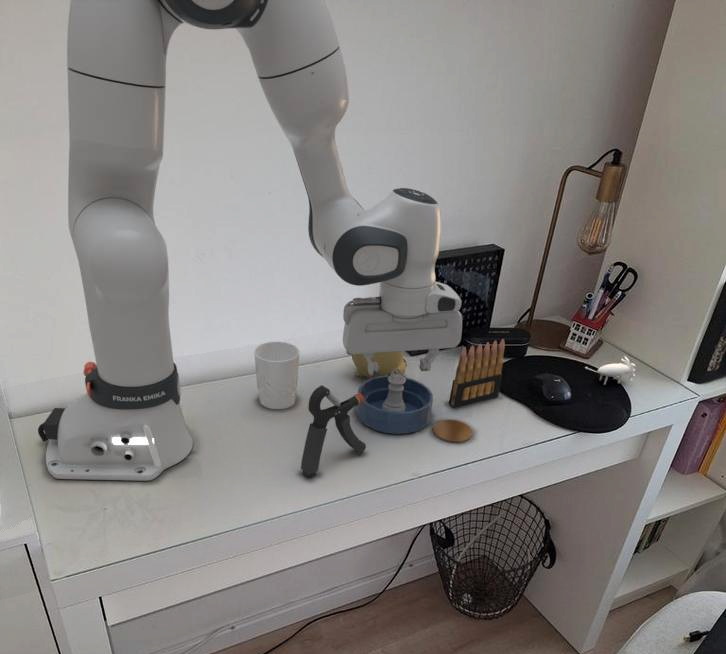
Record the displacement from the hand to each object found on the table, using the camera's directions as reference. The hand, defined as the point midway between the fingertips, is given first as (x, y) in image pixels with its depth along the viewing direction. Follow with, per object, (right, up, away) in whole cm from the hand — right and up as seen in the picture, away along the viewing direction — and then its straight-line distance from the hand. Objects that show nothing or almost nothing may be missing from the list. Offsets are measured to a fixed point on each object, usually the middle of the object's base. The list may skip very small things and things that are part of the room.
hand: (399, 371), depth 120 cm
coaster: (+10, -10, +2) cm, 14 cm away
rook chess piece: (-1, -7, +5) cm, 9 cm away
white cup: (-22, -4, +7) cm, 24 cm away
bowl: (-1, -7, +5) cm, 9 cm away
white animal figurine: (+44, +1, +21) cm, 48 cm away
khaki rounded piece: (-4, +2, +17) cm, 17 cm away
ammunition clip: (+15, -4, +12) cm, 19 cm away
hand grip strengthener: (-11, -16, -8) cm, 21 cm away
